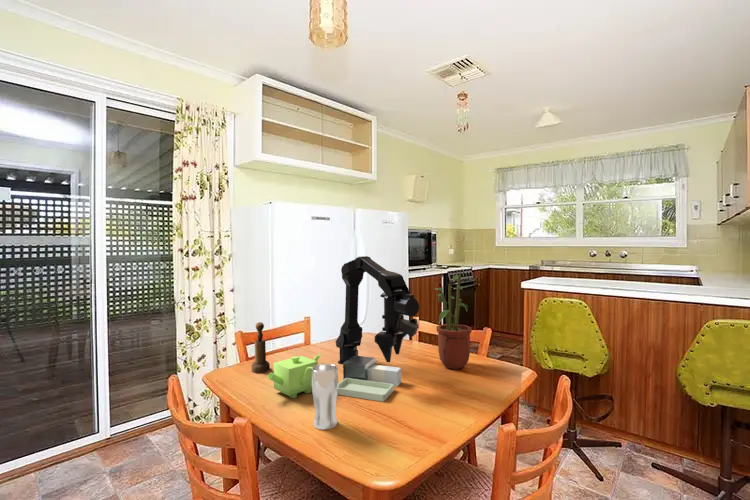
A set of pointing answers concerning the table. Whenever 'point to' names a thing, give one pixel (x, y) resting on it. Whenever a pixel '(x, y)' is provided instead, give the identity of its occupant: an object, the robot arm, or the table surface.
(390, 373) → the white square column
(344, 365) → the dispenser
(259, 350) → the dark turned peg
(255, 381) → the table surface
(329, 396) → the beer glass
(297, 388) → the kettle
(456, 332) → the potted plant
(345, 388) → the dish
